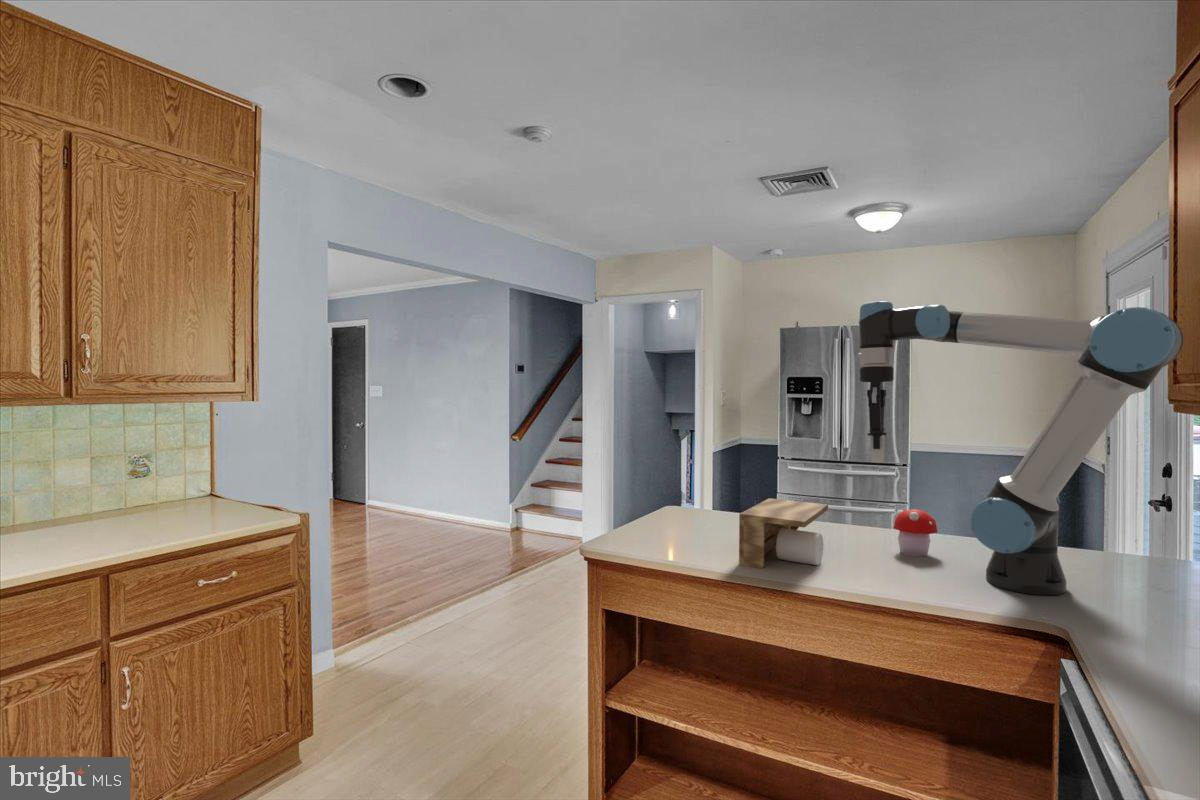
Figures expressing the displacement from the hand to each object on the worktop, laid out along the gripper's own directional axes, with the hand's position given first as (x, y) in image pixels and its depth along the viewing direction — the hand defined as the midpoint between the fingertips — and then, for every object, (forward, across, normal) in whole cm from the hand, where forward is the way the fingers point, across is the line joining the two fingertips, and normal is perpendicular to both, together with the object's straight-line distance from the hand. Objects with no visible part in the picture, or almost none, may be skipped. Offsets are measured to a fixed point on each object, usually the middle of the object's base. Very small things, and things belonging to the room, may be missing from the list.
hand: (877, 462), depth 153 cm
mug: (+26, +1, -18) cm, 32 cm away
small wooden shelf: (+26, +2, -22) cm, 34 cm away
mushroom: (+27, -20, +7) cm, 34 cm away
